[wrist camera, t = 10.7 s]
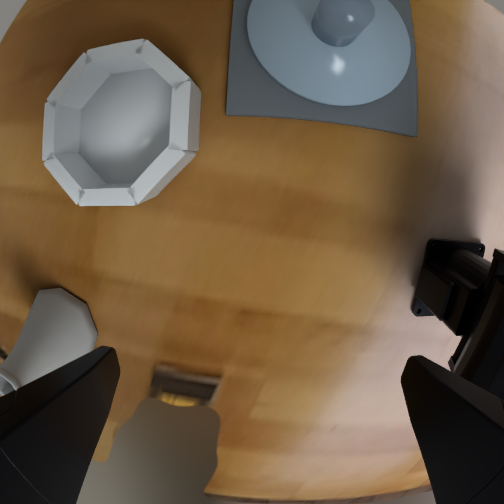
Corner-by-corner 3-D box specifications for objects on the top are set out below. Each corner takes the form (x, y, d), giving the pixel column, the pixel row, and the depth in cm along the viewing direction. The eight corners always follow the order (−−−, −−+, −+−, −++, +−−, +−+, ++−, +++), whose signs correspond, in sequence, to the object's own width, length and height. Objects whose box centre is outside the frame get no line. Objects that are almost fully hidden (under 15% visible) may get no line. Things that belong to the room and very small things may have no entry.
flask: (33, 277, 22) (-39, 330, 12) (96, 296, 22) (28, 368, 12) (43, 341, 24) (-10, 402, 14) (102, 363, 24) (56, 439, 15)
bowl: (206, 55, 16) (195, 33, 13) (199, 196, 19) (186, 206, 16) (80, 72, 16) (50, 60, 13) (75, 197, 19) (44, 207, 16)
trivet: (403, -9, 14) (406, -12, 13) (412, 137, 18) (416, 136, 17) (237, -36, 14) (237, -40, 13) (226, 115, 18) (226, 114, 17)
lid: (399, -6, 14) (424, -30, 9) (404, 121, 17) (439, 115, 13) (252, -33, 14) (251, -68, 9) (242, 97, 17) (237, 80, 13)
